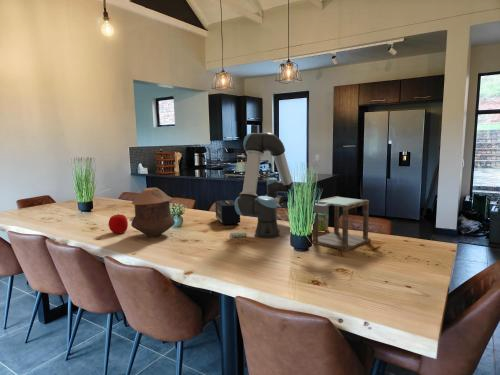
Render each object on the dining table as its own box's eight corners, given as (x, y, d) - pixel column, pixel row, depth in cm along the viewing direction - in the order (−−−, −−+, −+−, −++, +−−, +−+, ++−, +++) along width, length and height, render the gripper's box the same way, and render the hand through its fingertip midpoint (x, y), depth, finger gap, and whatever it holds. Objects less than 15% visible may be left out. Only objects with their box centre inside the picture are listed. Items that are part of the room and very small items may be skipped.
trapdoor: (325, 214, 166) (325, 206, 166) (299, 210, 178) (299, 202, 177) (363, 204, 190) (363, 197, 190) (338, 201, 202) (338, 194, 201)
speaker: (215, 219, 253) (215, 199, 251) (232, 218, 257) (232, 198, 255) (222, 226, 232) (221, 204, 230) (240, 224, 236) (239, 203, 234)
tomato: (124, 235, 215) (123, 215, 213) (106, 235, 215) (104, 216, 213) (131, 230, 227) (130, 211, 225) (114, 230, 227) (112, 212, 226)
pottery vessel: (180, 230, 224) (178, 185, 220) (167, 241, 199) (164, 190, 195) (142, 230, 227) (139, 185, 223) (125, 241, 202) (121, 191, 198)
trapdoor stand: (346, 251, 175) (346, 206, 172) (310, 242, 192) (310, 201, 189) (370, 241, 192) (371, 200, 189) (335, 233, 209) (335, 195, 206)
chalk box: (310, 231, 215) (310, 208, 213) (314, 228, 223) (314, 205, 221) (324, 233, 211) (324, 209, 209) (328, 229, 219) (328, 206, 217)
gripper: (294, 204, 248) (317, 208, 232) (270, 209, 231) (294, 214, 216) (293, 193, 247) (317, 197, 231) (269, 199, 230) (294, 203, 215)
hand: (306, 205), depth 224 cm, fingers open, 13 cm apart
